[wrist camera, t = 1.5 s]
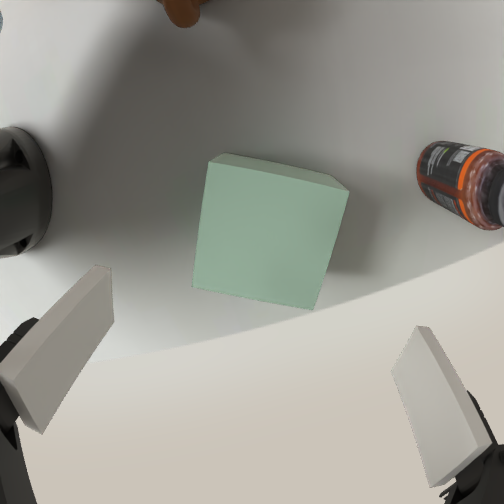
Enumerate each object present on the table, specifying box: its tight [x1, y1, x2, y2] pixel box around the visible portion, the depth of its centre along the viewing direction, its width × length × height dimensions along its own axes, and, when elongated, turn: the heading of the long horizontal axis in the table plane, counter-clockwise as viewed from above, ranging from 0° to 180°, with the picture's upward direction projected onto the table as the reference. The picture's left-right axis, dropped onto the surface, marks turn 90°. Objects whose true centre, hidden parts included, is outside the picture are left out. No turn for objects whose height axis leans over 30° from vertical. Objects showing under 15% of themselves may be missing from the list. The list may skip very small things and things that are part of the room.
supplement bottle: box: [417, 141, 504, 230], centre depth 19 cm, size 6×6×11 cm
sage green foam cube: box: [192, 153, 349, 310], centre depth 24 cm, size 9×9×7 cm
